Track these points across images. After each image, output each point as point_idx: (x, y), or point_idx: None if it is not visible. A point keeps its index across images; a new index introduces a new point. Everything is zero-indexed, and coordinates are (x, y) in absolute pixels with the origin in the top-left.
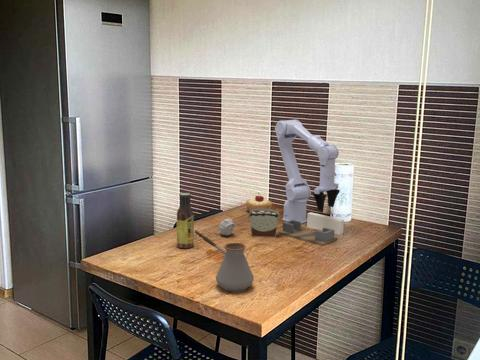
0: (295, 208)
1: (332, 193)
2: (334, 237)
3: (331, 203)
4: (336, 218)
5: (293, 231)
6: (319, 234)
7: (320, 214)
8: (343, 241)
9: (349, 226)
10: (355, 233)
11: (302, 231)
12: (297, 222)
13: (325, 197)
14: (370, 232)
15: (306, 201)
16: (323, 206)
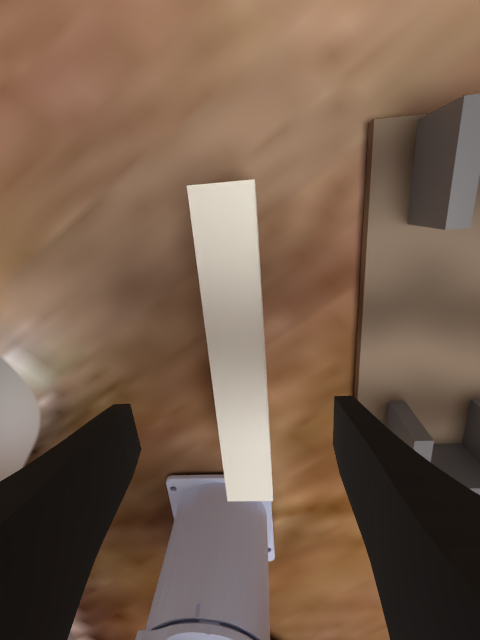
0: (265, 594)
1: (7, 610)
2: (387, 138)
3: (114, 448)
4: (210, 269)
5: (477, 404)
6: None
7: (218, 430)
8: (376, 50)
9: (46, 267)
10: (130, 126)
11: (408, 381)
12: (428, 452)
13: (460, 546)
14: (7, 50)
15: (157, 625)
16: (362, 421)
